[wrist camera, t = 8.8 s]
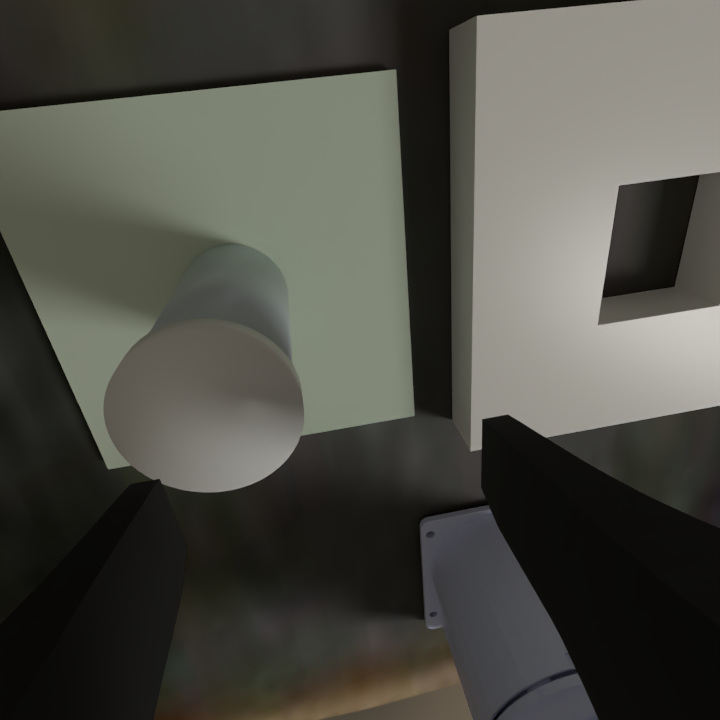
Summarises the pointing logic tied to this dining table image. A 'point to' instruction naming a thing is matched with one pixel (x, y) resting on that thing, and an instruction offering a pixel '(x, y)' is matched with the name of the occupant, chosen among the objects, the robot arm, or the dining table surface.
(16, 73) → the dining table surface
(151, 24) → the dining table surface
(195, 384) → the cartridge
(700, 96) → the housing
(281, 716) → the dining table surface
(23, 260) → the mat
